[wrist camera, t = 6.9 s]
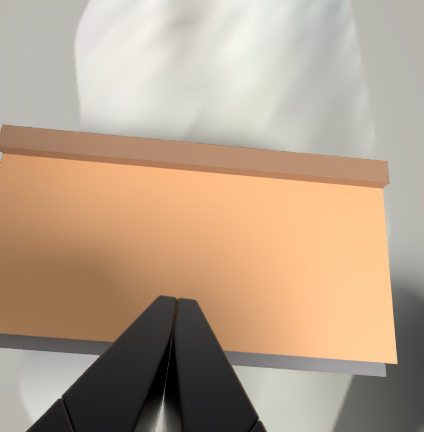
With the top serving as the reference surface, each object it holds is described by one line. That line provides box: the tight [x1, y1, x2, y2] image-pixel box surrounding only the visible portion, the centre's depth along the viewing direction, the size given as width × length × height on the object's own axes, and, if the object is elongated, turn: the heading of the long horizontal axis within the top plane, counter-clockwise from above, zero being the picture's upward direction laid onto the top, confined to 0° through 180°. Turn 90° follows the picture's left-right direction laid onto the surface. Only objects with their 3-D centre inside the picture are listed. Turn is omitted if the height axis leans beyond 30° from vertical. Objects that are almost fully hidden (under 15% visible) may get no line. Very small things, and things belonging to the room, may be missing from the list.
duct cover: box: [0, 125, 397, 364], centre depth 15 cm, size 8×16×1 cm, turn 86°
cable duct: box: [0, 333, 386, 377], centre depth 18 cm, size 9×16×5 cm, turn 86°
